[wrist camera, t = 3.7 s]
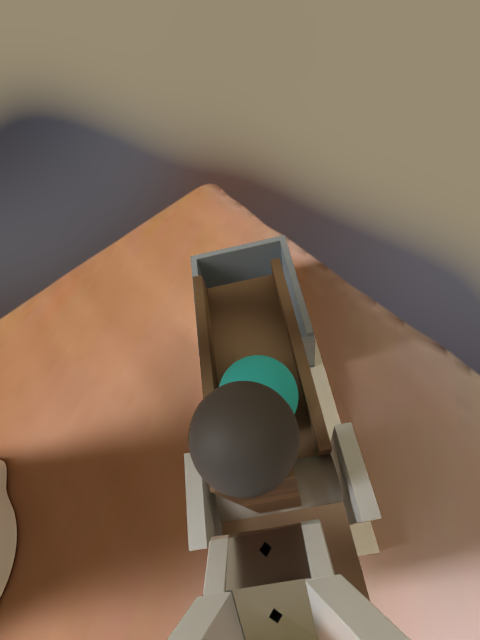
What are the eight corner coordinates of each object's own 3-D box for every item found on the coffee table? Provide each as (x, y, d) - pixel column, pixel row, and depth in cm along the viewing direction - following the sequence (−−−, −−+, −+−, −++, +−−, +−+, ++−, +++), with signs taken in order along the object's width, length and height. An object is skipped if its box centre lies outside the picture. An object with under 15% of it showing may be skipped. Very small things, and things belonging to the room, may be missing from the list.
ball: (218, 436, 19) (198, 414, 15) (236, 368, 20) (222, 335, 17) (293, 453, 18) (289, 433, 14) (304, 379, 19) (303, 347, 16)
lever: (365, 633, 19) (649, 1127, 3) (259, 649, 19) (43, 1163, 3) (286, 324, 30) (262, 89, 14) (220, 338, 30) (124, 124, 14)
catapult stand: (376, 551, 27) (451, 570, 13) (228, 576, 28) (145, 619, 14) (293, 270, 43) (285, 140, 29) (200, 290, 44) (148, 174, 30)
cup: (314, 366, 35) (315, 337, 30) (215, 386, 35) (199, 361, 30) (287, 271, 41) (284, 235, 36) (204, 289, 42) (190, 256, 37)
